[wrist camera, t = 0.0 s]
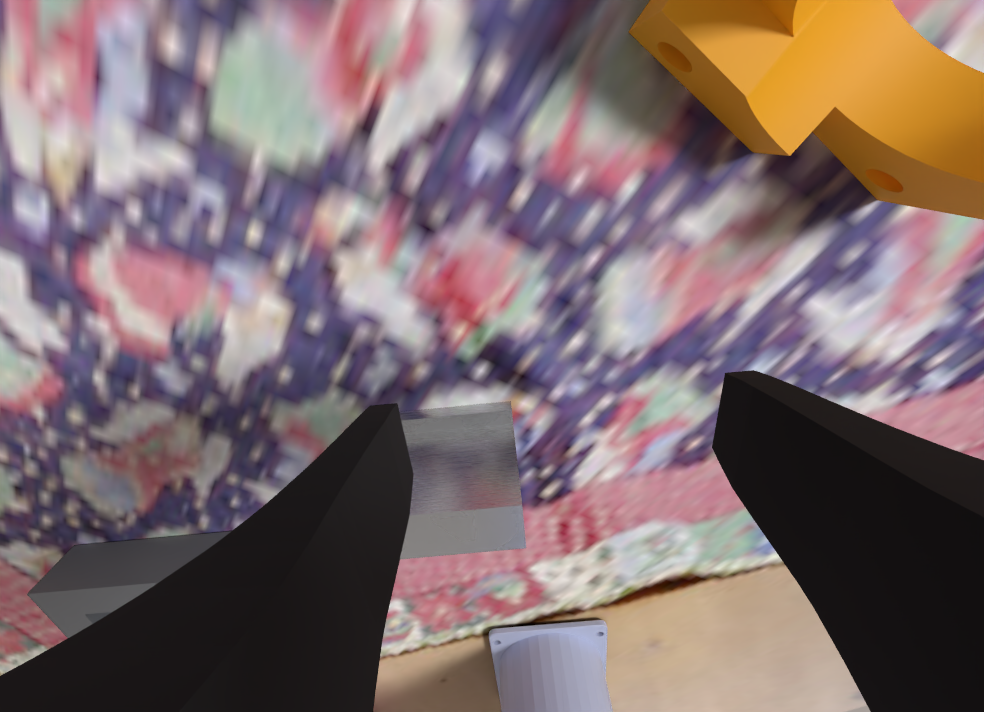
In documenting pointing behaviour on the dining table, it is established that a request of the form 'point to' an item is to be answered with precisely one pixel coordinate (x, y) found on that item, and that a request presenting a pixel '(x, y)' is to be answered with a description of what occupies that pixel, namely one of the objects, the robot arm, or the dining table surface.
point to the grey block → (463, 481)
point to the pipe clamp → (833, 90)
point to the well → (111, 576)
